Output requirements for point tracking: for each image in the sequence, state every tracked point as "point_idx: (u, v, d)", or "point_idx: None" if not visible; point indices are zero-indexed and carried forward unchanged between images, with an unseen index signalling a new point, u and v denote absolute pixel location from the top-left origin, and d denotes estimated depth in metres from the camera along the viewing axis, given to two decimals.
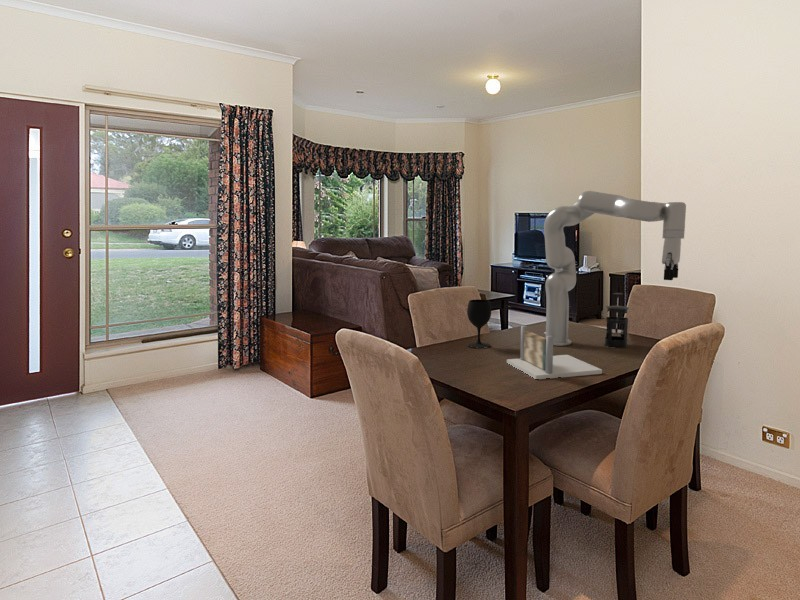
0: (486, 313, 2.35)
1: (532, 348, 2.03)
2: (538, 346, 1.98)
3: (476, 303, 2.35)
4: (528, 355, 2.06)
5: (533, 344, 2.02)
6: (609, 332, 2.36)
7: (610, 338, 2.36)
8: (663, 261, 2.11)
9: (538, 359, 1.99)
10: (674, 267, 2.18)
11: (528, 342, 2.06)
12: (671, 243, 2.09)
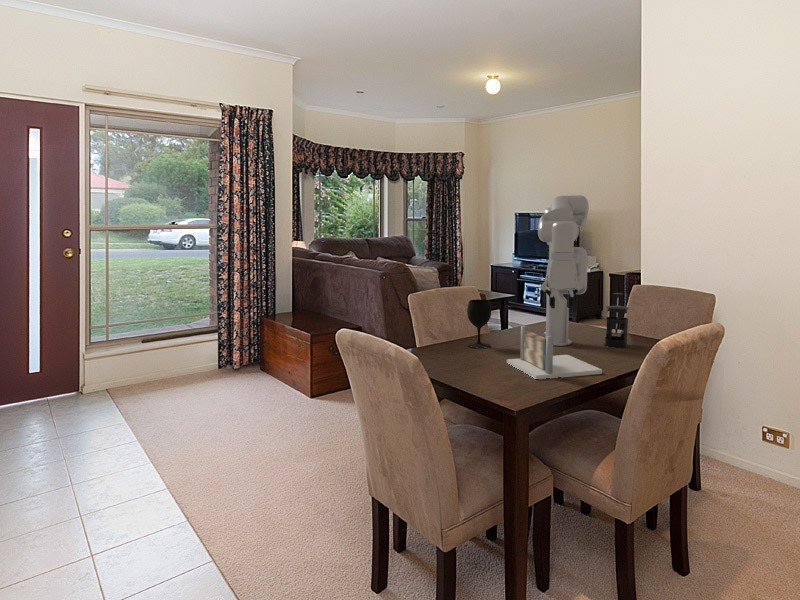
0: (486, 313, 2.35)
1: (532, 348, 2.03)
2: (538, 346, 1.98)
3: (476, 303, 2.35)
4: (528, 355, 2.06)
5: (533, 344, 2.02)
6: (609, 332, 2.36)
7: (610, 338, 2.36)
8: None
9: (538, 359, 1.99)
10: (568, 296, 1.97)
11: (528, 342, 2.06)
12: (548, 266, 1.95)
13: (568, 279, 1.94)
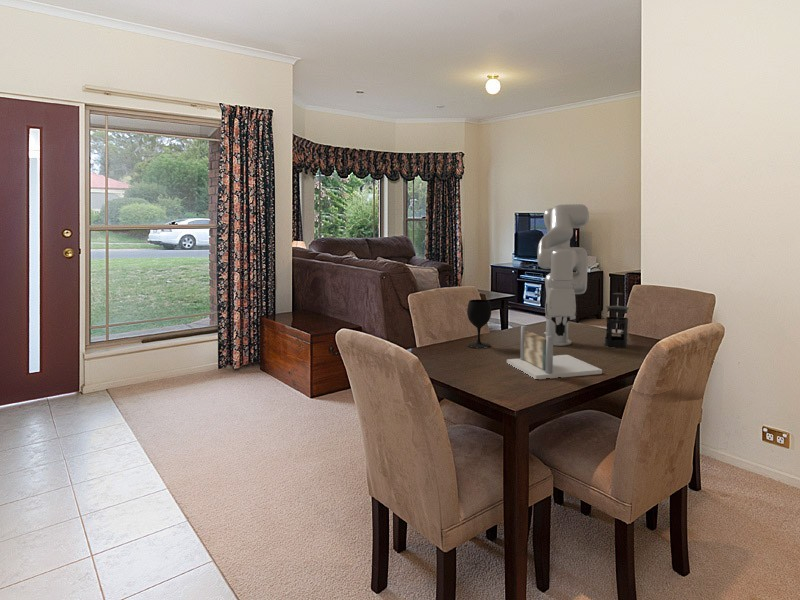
0: (486, 313, 2.35)
1: (532, 348, 2.03)
2: (538, 346, 1.98)
3: (476, 303, 2.35)
4: (528, 355, 2.06)
5: (533, 344, 2.02)
6: (609, 332, 2.36)
7: (610, 338, 2.36)
8: (545, 311, 2.00)
9: (538, 359, 1.99)
10: (560, 324, 1.98)
11: (528, 342, 2.06)
12: (548, 293, 1.97)
13: (567, 306, 1.95)
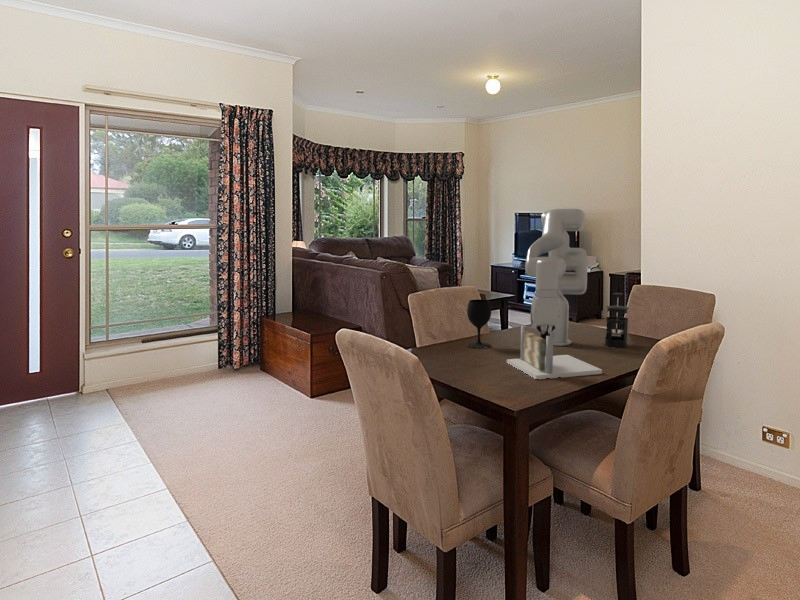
0: (486, 313, 2.35)
1: (531, 349, 2.03)
2: (535, 346, 1.98)
3: (476, 303, 2.35)
4: (527, 355, 2.06)
5: (531, 344, 2.02)
6: (609, 332, 2.36)
7: (610, 338, 2.36)
8: (530, 320, 2.00)
9: (535, 359, 1.99)
10: (546, 333, 1.98)
11: (527, 342, 2.06)
12: (533, 302, 1.96)
13: (552, 316, 1.95)
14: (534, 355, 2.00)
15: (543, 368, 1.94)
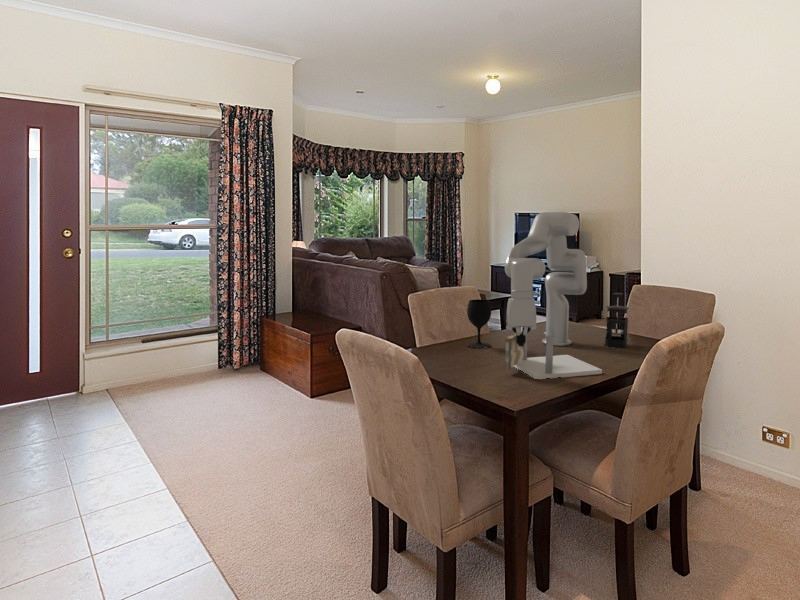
0: (486, 313, 2.35)
1: None
2: None
3: (476, 303, 2.35)
4: None
5: None
6: (609, 332, 2.36)
7: (610, 338, 2.36)
8: (506, 322, 1.99)
9: None
10: (521, 334, 1.97)
11: None
12: (508, 304, 1.96)
13: (527, 317, 1.94)
14: None
15: (507, 367, 1.97)
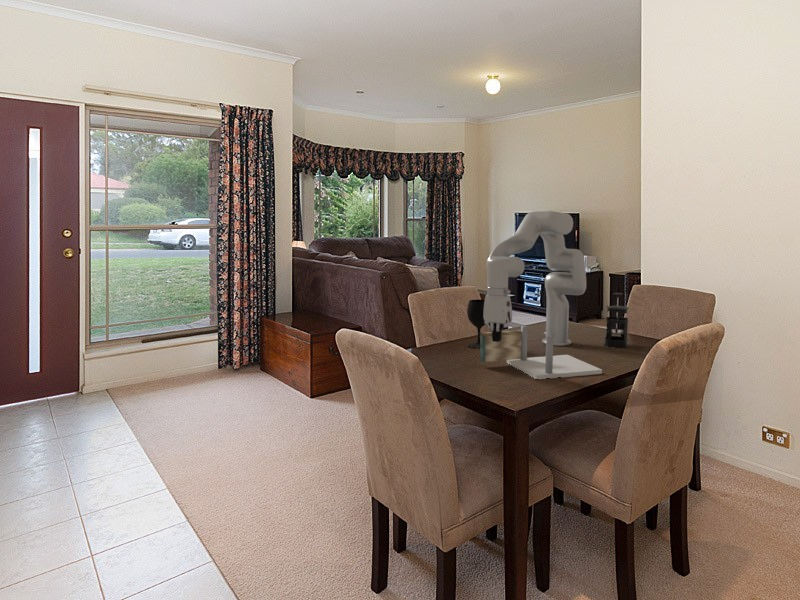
0: None
1: None
2: None
3: (476, 303, 2.35)
4: None
5: None
6: (609, 332, 2.36)
7: (610, 338, 2.36)
8: None
9: None
10: None
11: None
12: None
13: (497, 314, 2.00)
14: None
15: (481, 360, 2.07)
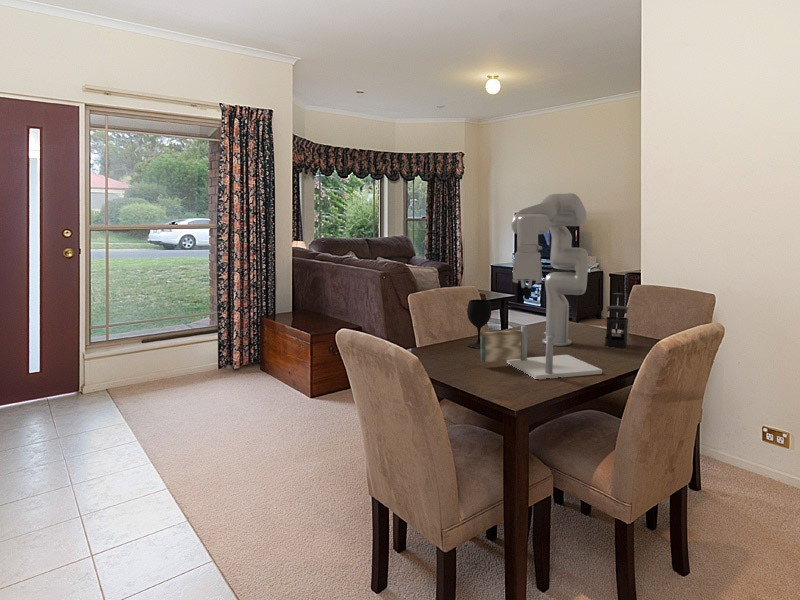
0: (486, 313, 2.35)
1: None
2: None
3: (476, 303, 2.35)
4: None
5: None
6: (609, 332, 2.36)
7: (610, 338, 2.36)
8: None
9: None
10: (527, 287, 2.05)
11: None
12: None
13: (530, 270, 2.02)
14: None
15: (481, 360, 2.07)
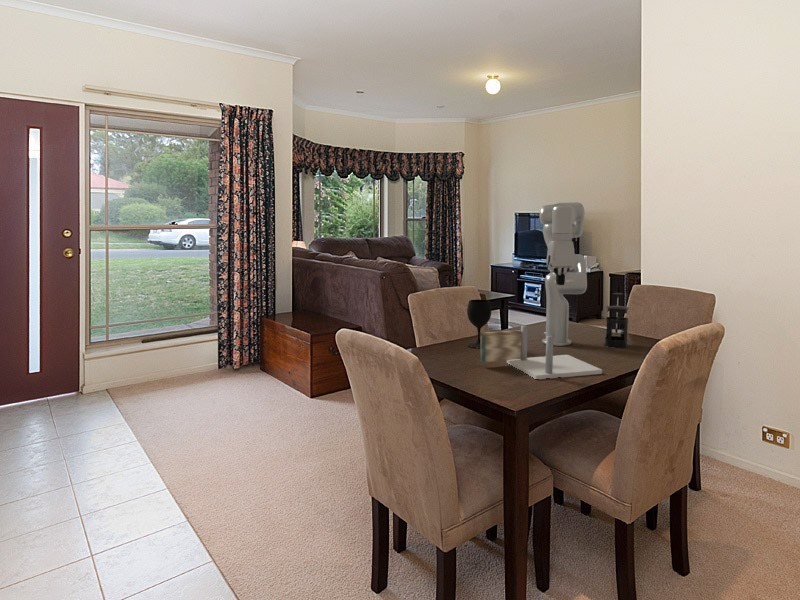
0: (486, 313, 2.35)
1: None
2: None
3: (476, 303, 2.35)
4: None
5: None
6: (609, 332, 2.36)
7: (610, 338, 2.36)
8: None
9: None
10: (561, 274, 2.16)
11: None
12: (551, 246, 2.14)
13: (568, 258, 2.14)
14: None
15: (481, 360, 2.07)
